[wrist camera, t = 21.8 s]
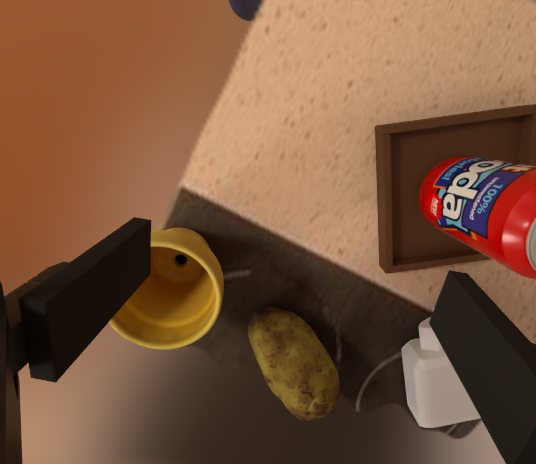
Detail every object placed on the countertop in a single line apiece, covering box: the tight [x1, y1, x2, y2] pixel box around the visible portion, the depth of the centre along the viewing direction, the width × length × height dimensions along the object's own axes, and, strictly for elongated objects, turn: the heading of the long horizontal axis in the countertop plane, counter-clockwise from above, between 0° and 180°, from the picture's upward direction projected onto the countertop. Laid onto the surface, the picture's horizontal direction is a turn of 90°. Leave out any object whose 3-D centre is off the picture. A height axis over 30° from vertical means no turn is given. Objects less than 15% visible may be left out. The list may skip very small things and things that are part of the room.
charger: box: [401, 307, 481, 428], centre depth 41 cm, size 5×9×15 cm
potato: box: [247, 306, 340, 421], centre depth 38 cm, size 8×13×8 cm, turn 17°
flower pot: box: [109, 228, 224, 349], centre depth 33 cm, size 10×10×10 cm
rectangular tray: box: [375, 104, 536, 273], centre depth 36 cm, size 16×16×2 cm
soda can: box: [419, 156, 536, 279], centre depth 29 cm, size 8×8×15 cm
